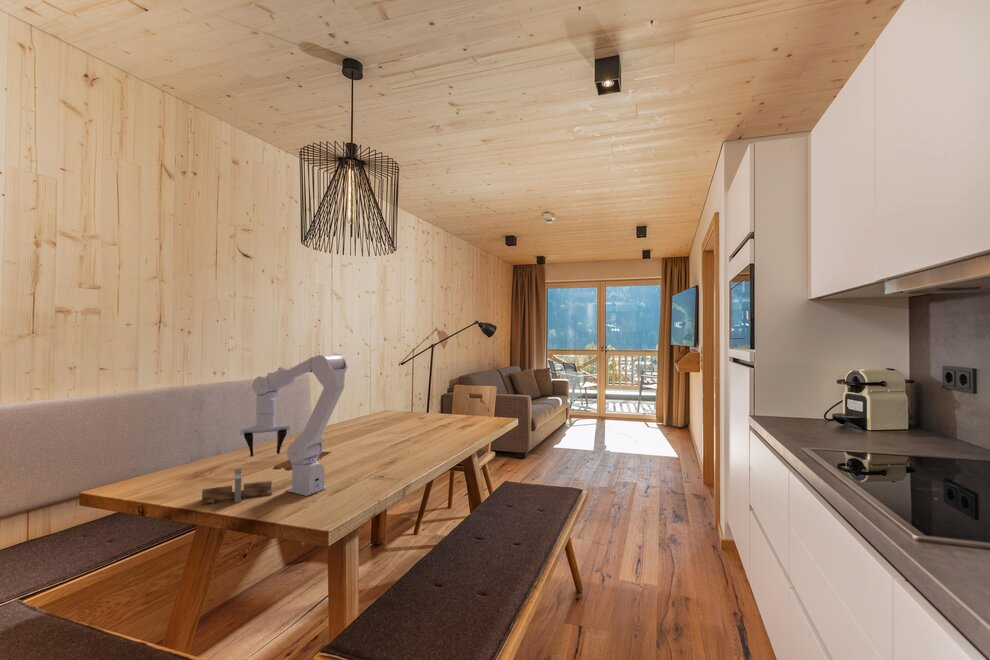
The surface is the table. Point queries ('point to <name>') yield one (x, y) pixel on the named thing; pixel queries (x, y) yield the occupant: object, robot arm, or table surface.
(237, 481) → the grey long rectangular block
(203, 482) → the table surface
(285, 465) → the wooden tablet
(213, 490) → the walnut slotted stand
